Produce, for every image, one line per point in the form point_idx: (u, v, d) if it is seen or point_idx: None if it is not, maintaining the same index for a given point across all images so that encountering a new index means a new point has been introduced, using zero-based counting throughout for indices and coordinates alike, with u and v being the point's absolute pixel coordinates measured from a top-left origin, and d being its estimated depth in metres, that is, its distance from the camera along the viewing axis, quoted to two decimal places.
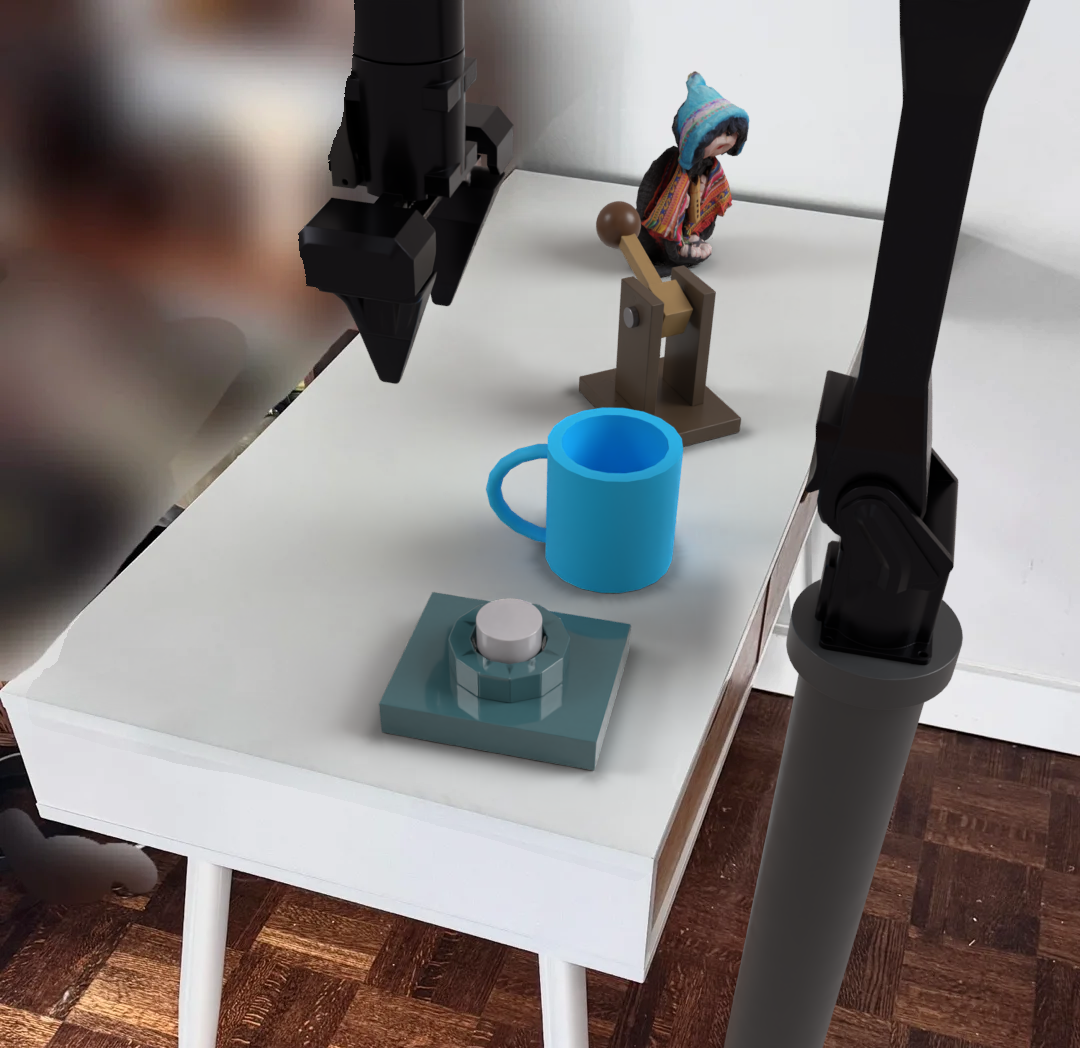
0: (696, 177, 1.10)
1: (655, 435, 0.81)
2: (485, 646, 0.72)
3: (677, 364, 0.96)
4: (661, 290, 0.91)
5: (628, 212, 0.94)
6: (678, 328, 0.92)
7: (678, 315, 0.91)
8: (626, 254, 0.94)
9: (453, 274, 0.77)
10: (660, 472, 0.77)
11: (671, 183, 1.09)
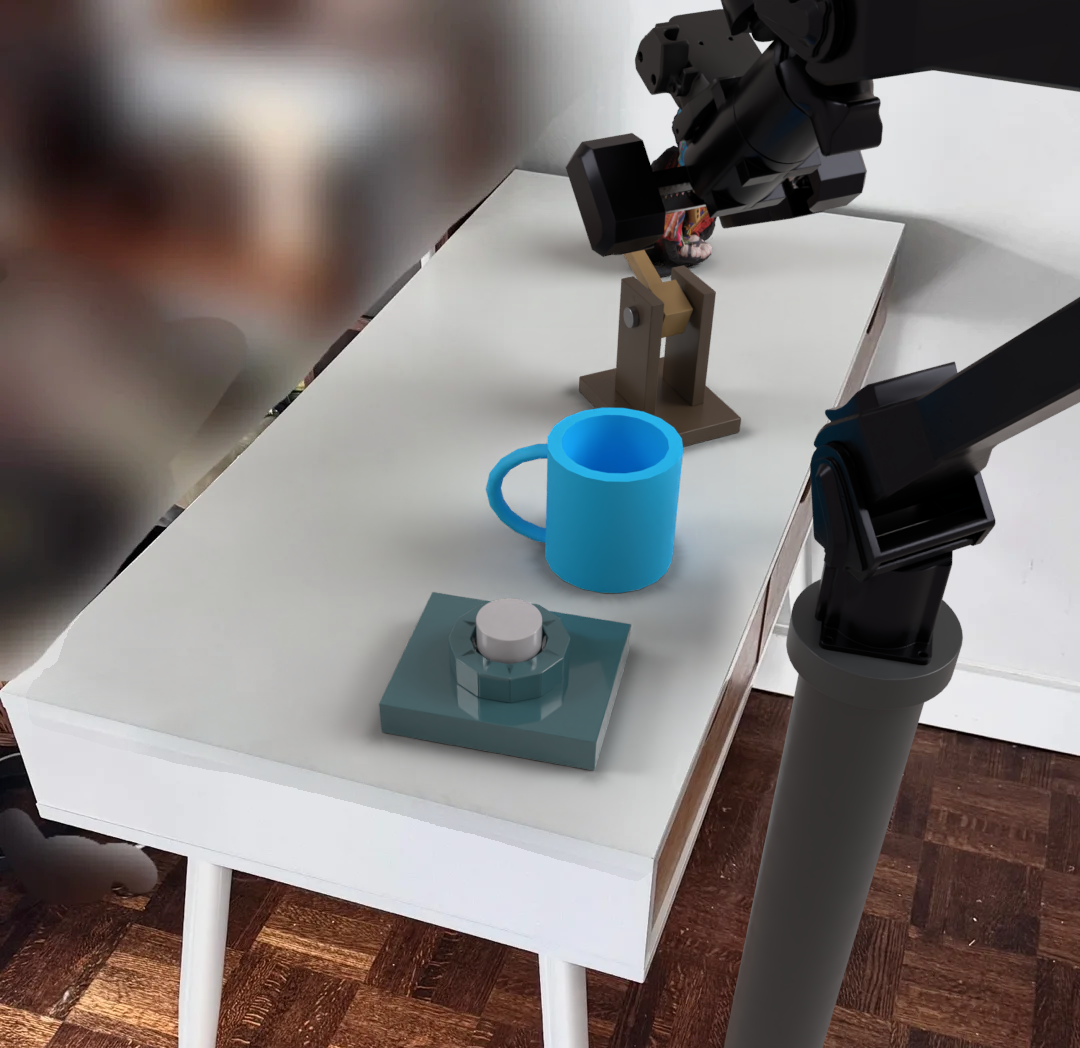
0: None
1: (655, 435, 0.81)
2: (485, 646, 0.72)
3: (677, 364, 0.96)
4: (661, 290, 0.91)
5: None
6: (678, 328, 0.92)
7: (678, 315, 0.91)
8: (626, 254, 0.94)
9: (738, 219, 0.88)
10: (660, 472, 0.77)
11: None
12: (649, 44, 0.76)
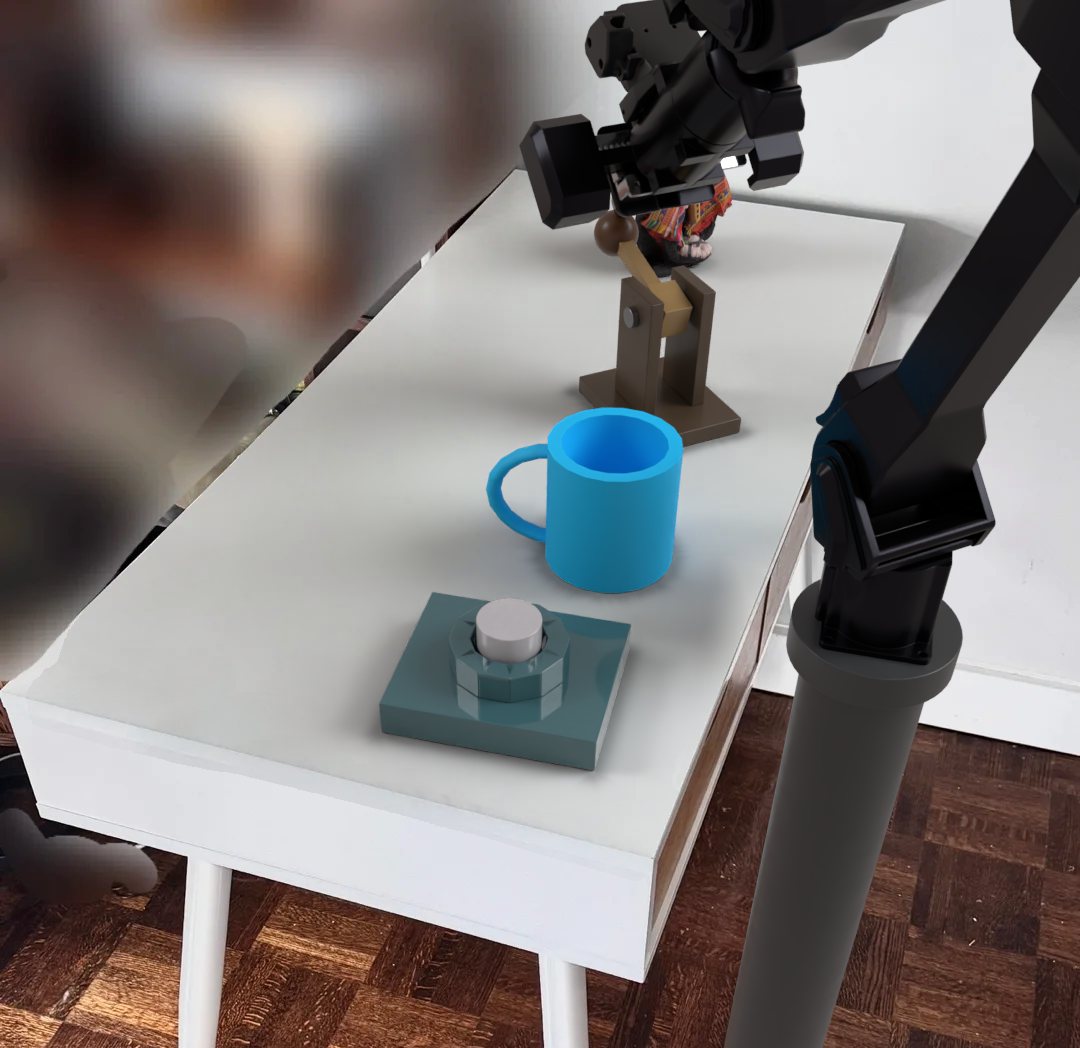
0: None
1: (655, 435, 0.81)
2: (485, 646, 0.72)
3: (677, 364, 0.96)
4: (661, 289, 0.91)
5: (625, 219, 0.94)
6: (679, 327, 0.92)
7: (677, 313, 0.91)
8: (625, 259, 0.94)
9: None
10: (660, 472, 0.77)
11: None
12: (597, 31, 0.81)
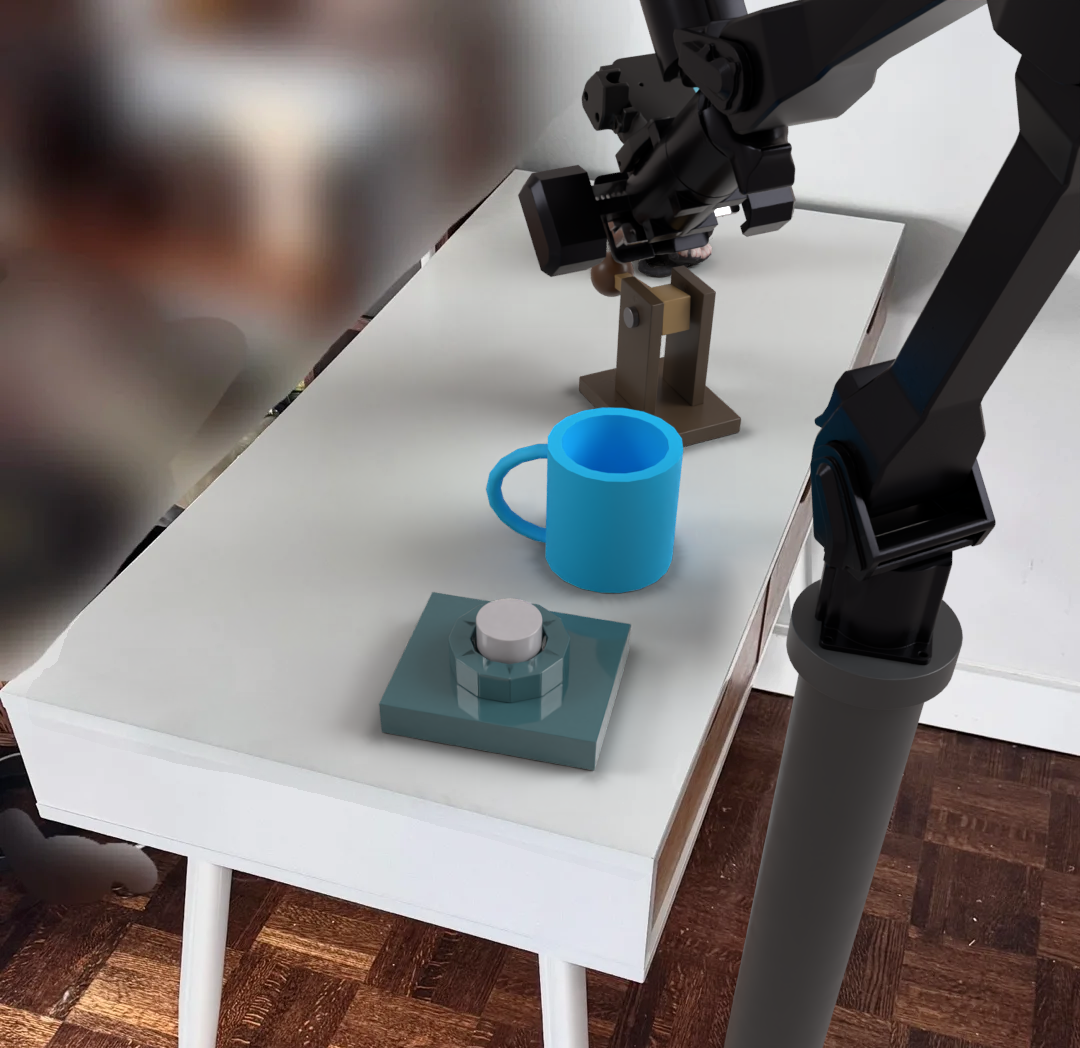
0: None
1: (655, 435, 0.81)
2: (485, 646, 0.72)
3: (677, 364, 0.96)
4: (657, 289, 0.92)
5: None
6: (681, 322, 0.92)
7: (676, 303, 0.91)
8: None
9: None
10: (660, 472, 0.77)
11: None
12: (593, 85, 0.84)
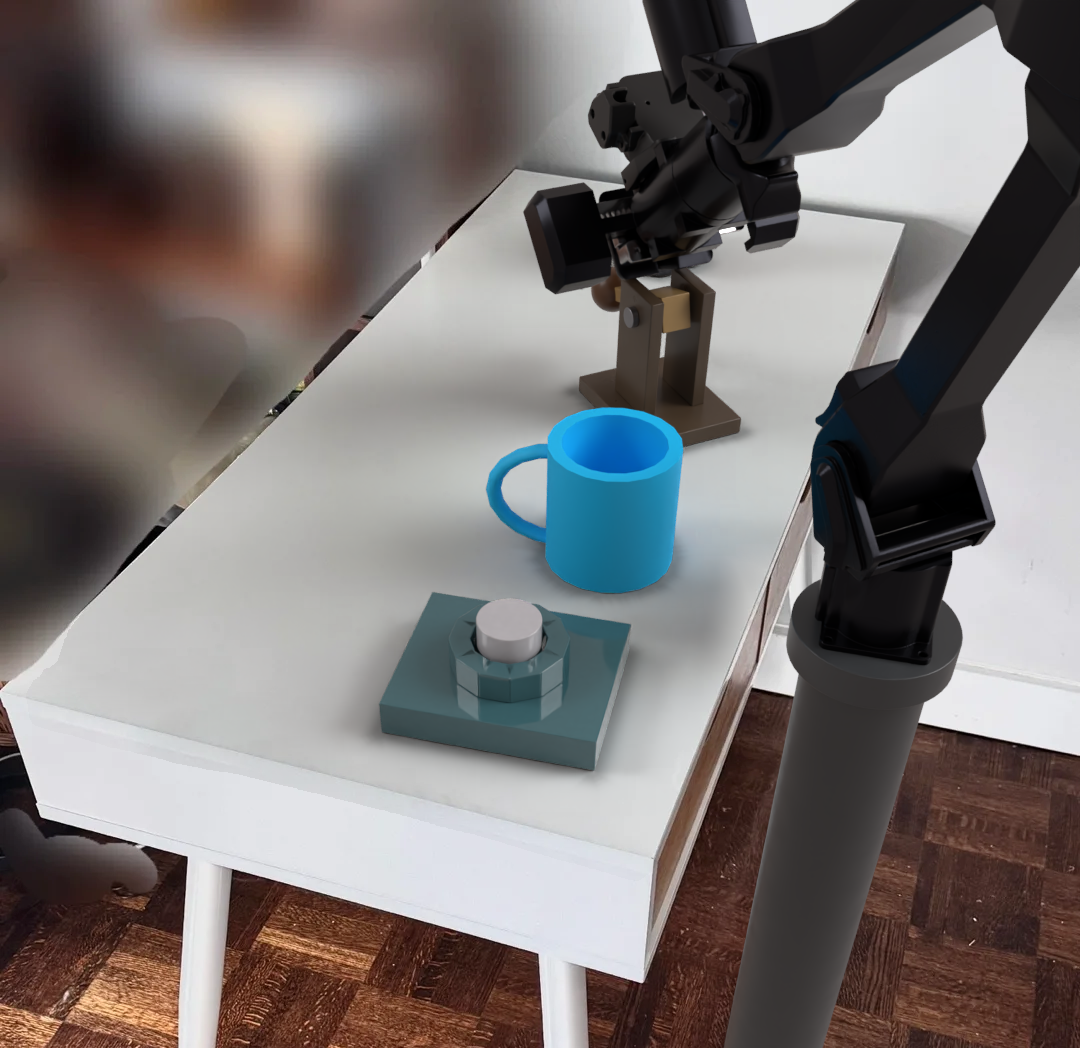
0: None
1: (655, 435, 0.81)
2: (485, 646, 0.72)
3: (677, 364, 0.96)
4: (655, 290, 0.92)
5: None
6: (682, 319, 0.92)
7: (675, 300, 0.91)
8: None
9: None
10: (660, 472, 0.77)
11: None
12: (600, 104, 0.84)
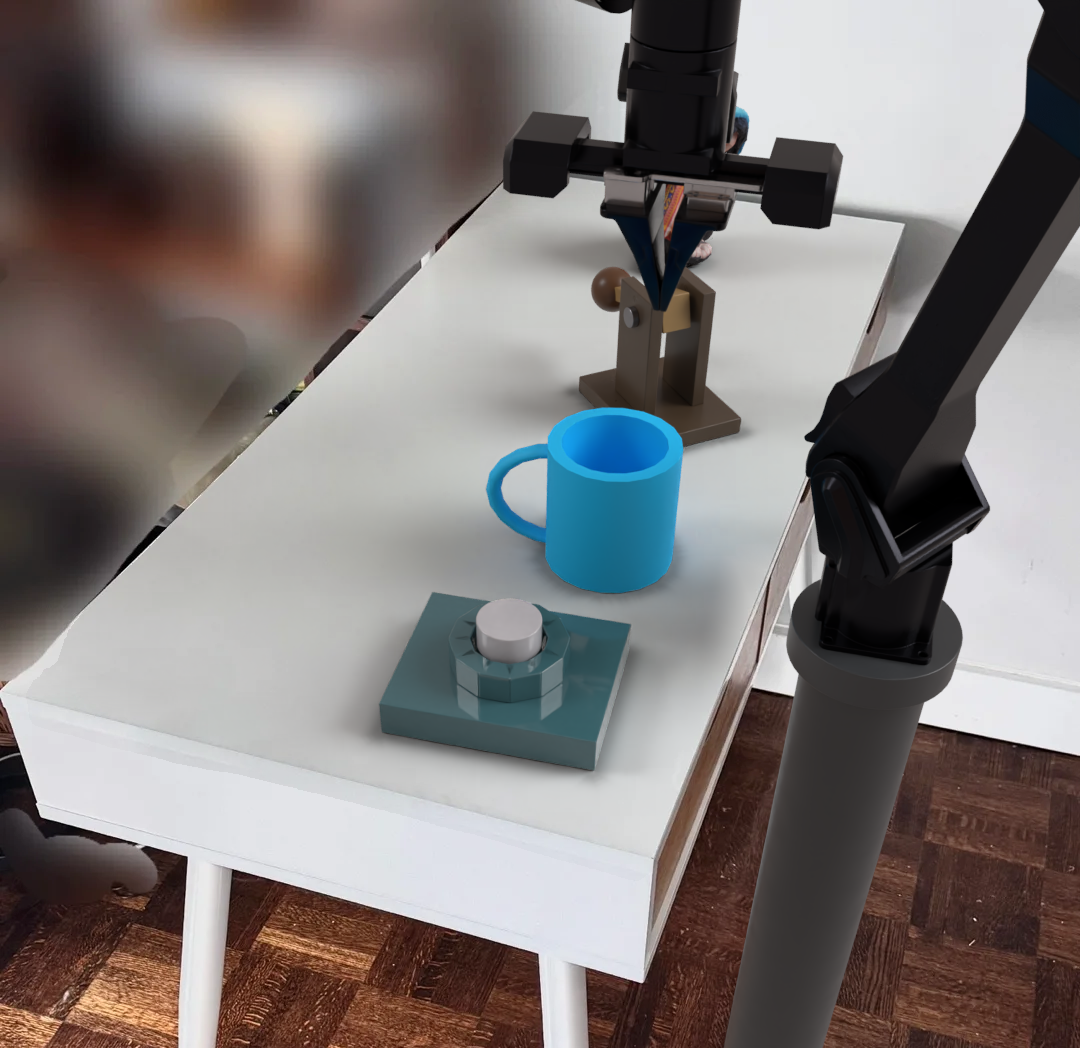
0: None
1: (655, 435, 0.81)
2: (485, 646, 0.72)
3: (677, 364, 0.96)
4: None
5: (616, 268, 0.98)
6: (682, 319, 0.92)
7: (675, 300, 0.91)
8: None
9: None
10: (660, 472, 0.77)
11: None
12: None
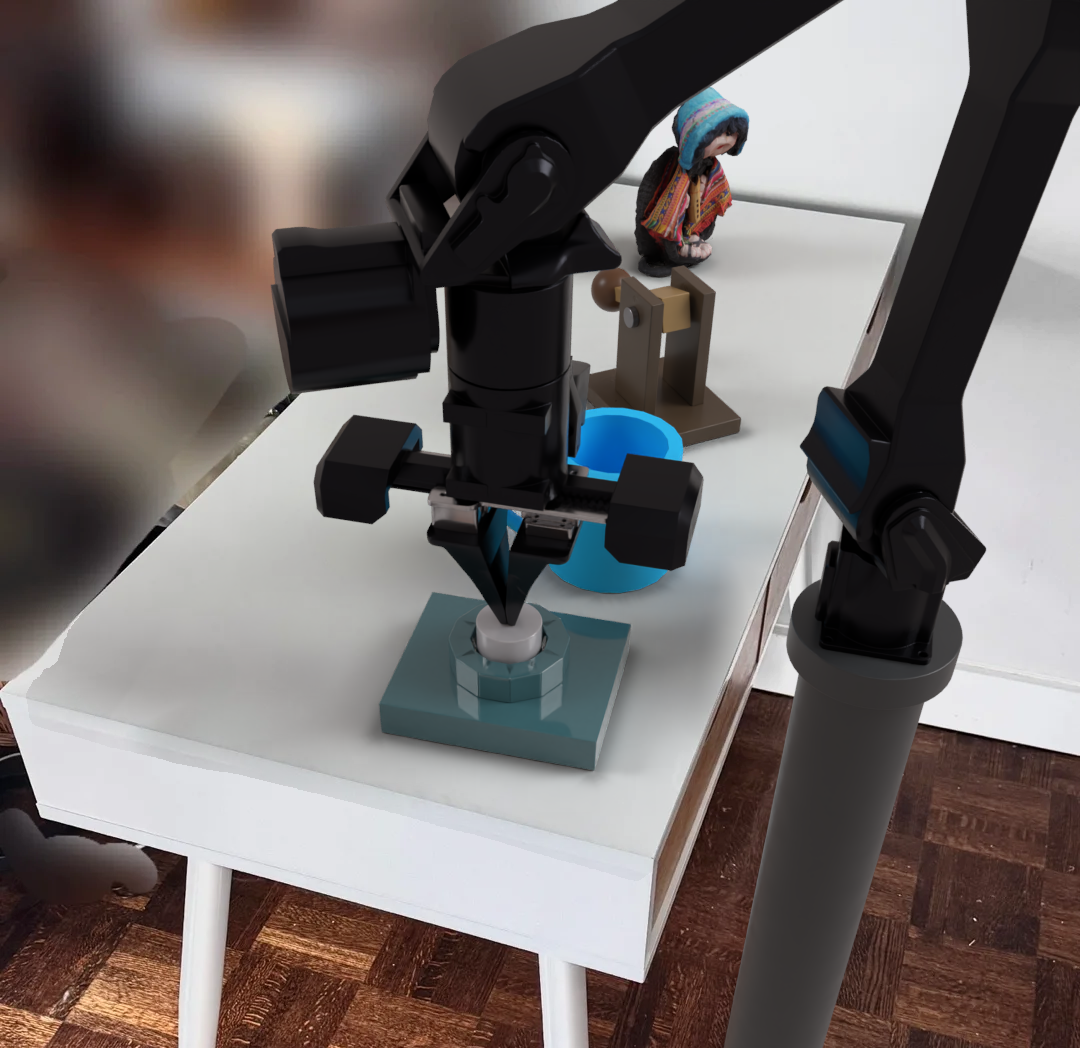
0: (696, 177, 1.10)
1: (655, 435, 0.81)
2: (485, 648, 0.72)
3: (677, 364, 0.96)
4: (655, 290, 0.92)
5: (616, 268, 0.98)
6: (682, 319, 0.92)
7: (675, 300, 0.91)
8: None
9: None
10: None
11: (671, 183, 1.09)
12: None
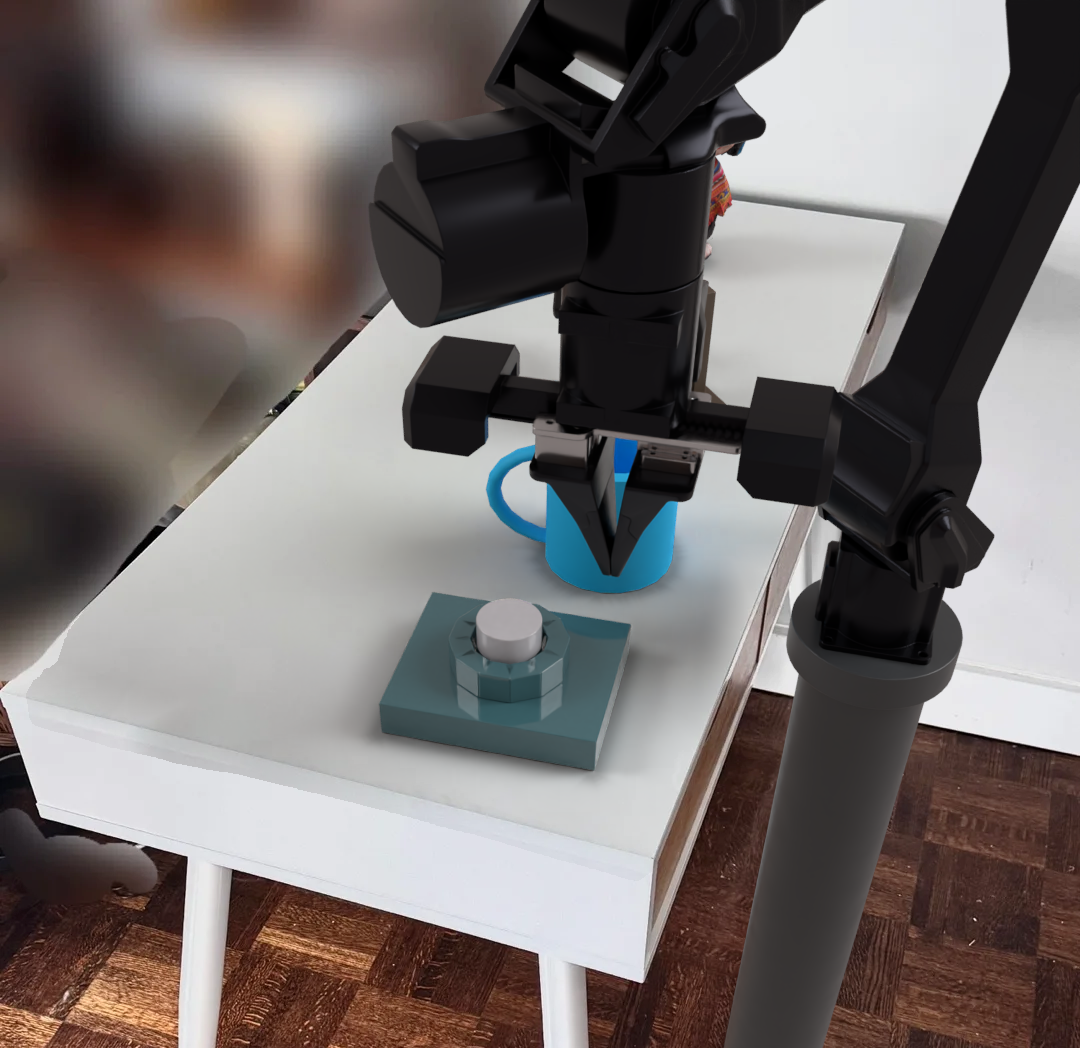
0: None
1: None
2: (485, 646, 0.72)
3: None
4: None
5: None
6: None
7: None
8: None
9: None
10: None
11: None
12: None
